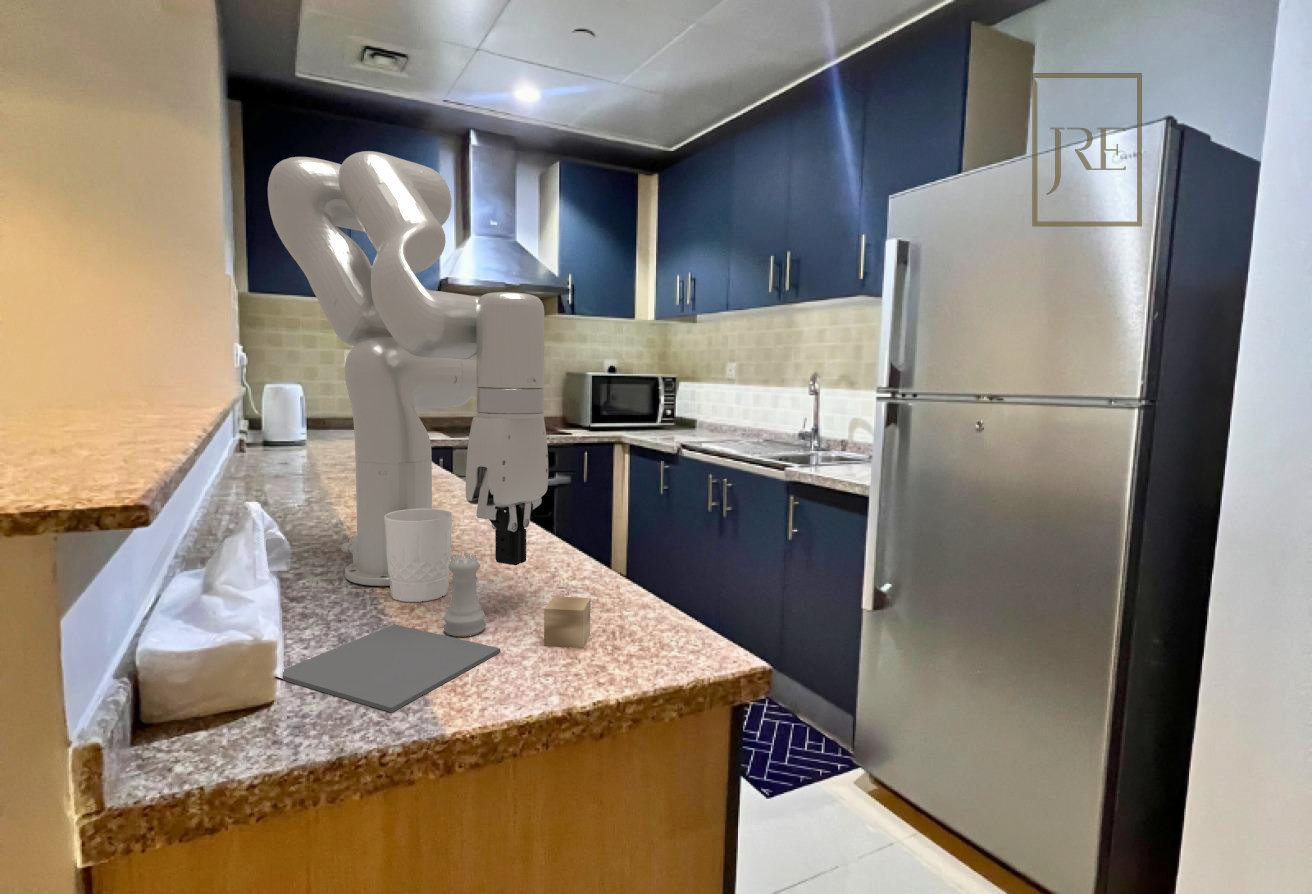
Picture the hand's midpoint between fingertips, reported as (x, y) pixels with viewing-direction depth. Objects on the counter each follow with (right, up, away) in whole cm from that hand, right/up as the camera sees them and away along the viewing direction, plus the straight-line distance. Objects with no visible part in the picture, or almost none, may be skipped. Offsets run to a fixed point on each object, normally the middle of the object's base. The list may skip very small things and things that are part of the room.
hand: (510, 562), depth 81 cm
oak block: (+8, -7, -8) cm, 13 cm away
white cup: (-12, -5, +5) cm, 14 cm away
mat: (-8, -7, -16) cm, 19 cm away
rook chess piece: (-4, -6, -7) cm, 10 cm away
